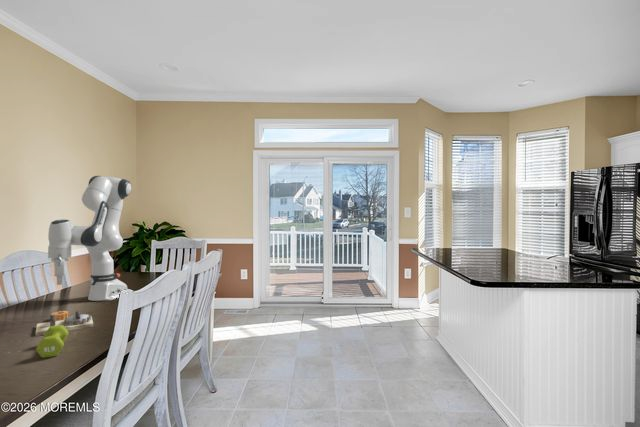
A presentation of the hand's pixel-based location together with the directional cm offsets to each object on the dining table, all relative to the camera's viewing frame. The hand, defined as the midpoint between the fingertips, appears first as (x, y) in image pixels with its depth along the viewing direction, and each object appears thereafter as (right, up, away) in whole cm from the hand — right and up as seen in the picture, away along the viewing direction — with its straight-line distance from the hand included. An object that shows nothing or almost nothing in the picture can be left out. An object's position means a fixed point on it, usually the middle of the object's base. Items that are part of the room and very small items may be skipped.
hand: (59, 282), depth 162 cm
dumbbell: (+24, -19, -34) cm, 45 cm away
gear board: (+10, -18, -10) cm, 23 cm away
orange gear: (0, -18, 0) cm, 18 cm away
